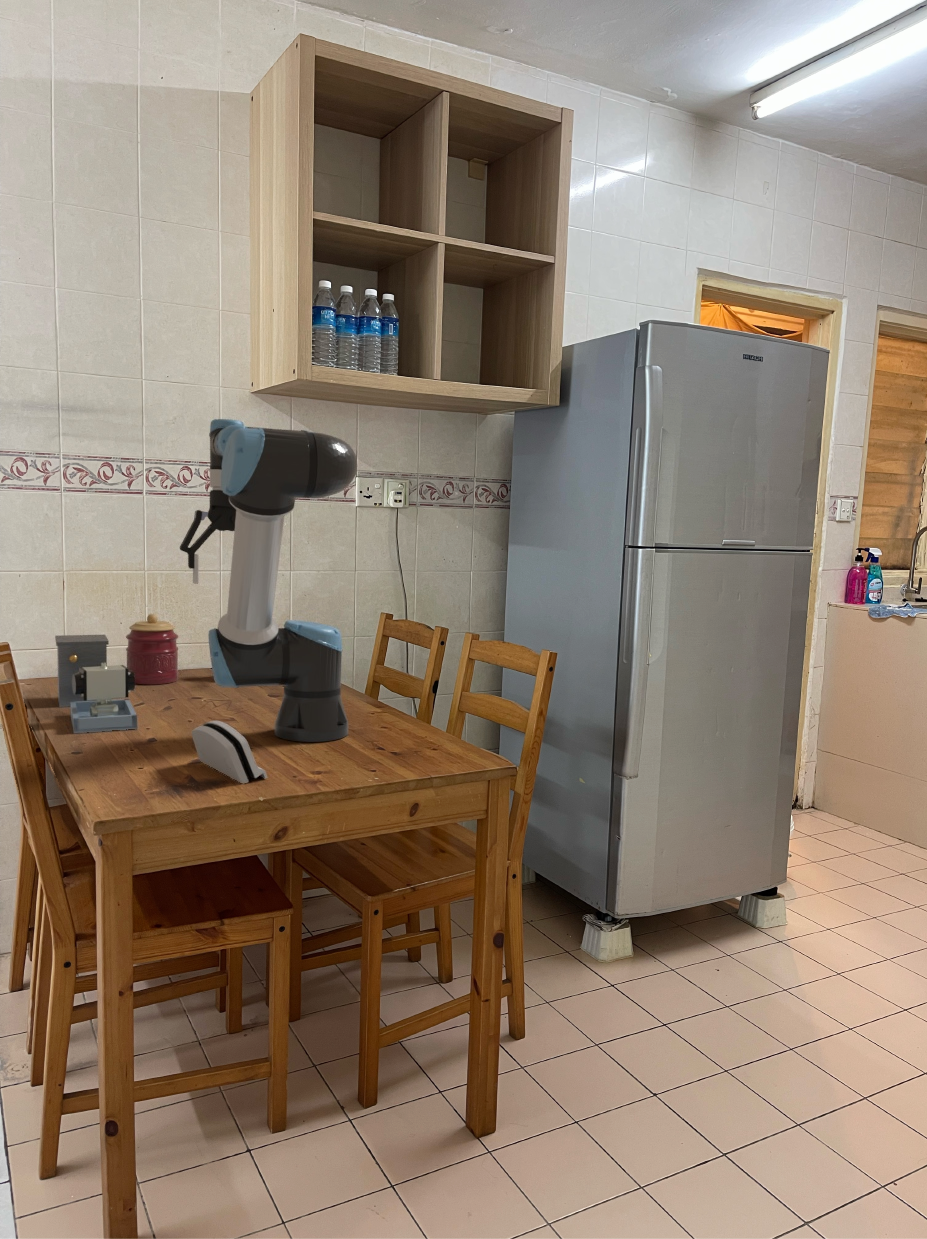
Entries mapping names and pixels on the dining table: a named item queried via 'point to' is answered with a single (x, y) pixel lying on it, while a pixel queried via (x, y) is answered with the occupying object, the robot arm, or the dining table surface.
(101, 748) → the dining table surface
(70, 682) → the box
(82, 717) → the tray
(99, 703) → the pneumatic valve
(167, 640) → the canister
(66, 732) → the dining table surface
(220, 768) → the grey curved fin
